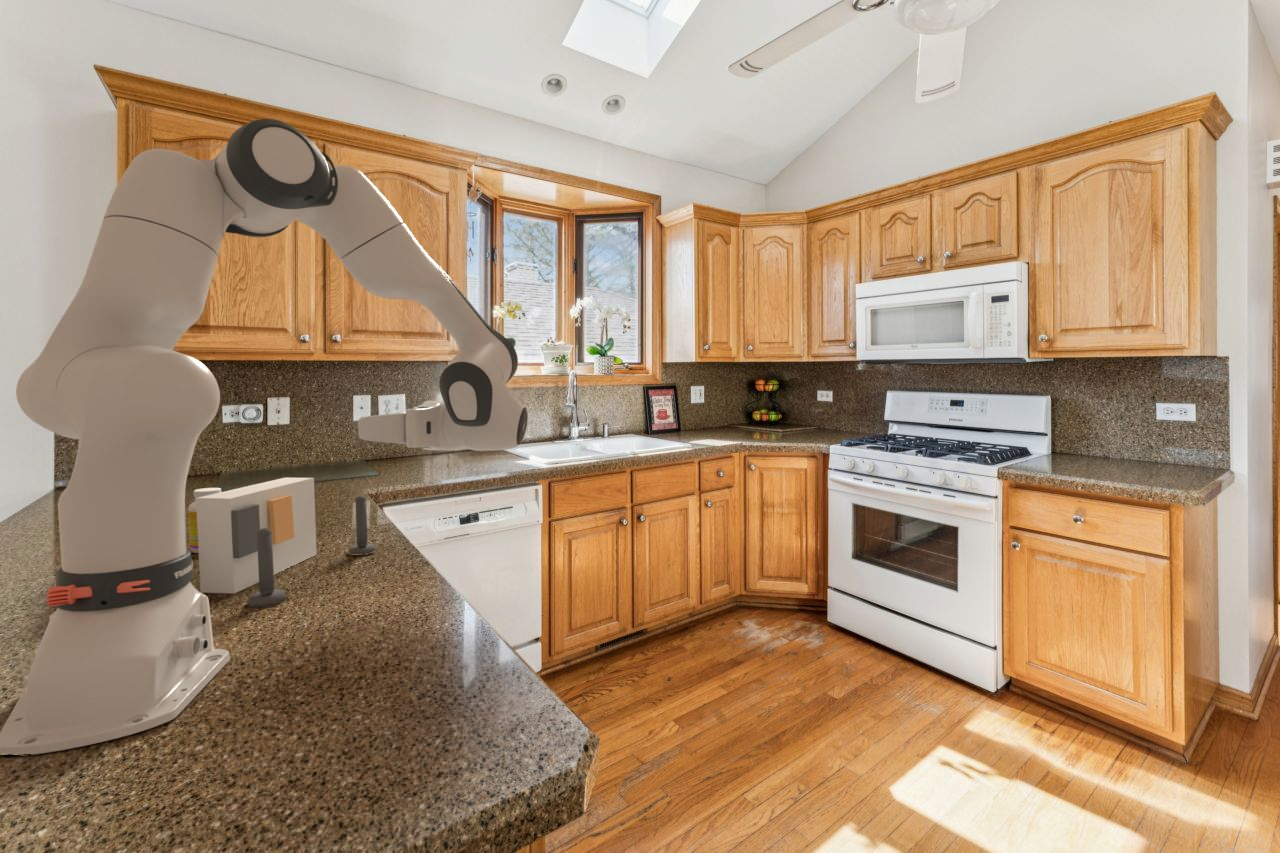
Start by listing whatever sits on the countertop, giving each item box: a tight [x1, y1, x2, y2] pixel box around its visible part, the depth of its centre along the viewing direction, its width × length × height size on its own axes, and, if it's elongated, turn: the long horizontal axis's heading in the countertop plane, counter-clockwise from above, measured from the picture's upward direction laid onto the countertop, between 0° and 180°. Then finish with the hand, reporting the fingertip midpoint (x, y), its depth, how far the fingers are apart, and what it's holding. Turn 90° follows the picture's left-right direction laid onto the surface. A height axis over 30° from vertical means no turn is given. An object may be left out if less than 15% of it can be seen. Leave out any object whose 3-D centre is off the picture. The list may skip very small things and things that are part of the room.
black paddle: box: [231, 505, 260, 558], centre depth 100 cm, size 1×5×8 cm, turn 176°
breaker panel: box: [196, 477, 317, 594], centre depth 108 cm, size 6×22×16 cm, turn 176°
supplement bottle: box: [187, 487, 222, 554], centre depth 123 cm, size 7×7×13 cm
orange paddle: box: [268, 495, 294, 545], centre depth 108 cm, size 1×5×8 cm, turn 175°
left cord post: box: [247, 528, 287, 609], centre depth 94 cm, size 5×5×12 cm
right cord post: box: [348, 494, 376, 554], centre depth 122 cm, size 5×5×12 cm
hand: (362, 424), depth 106 cm, fingers closed
